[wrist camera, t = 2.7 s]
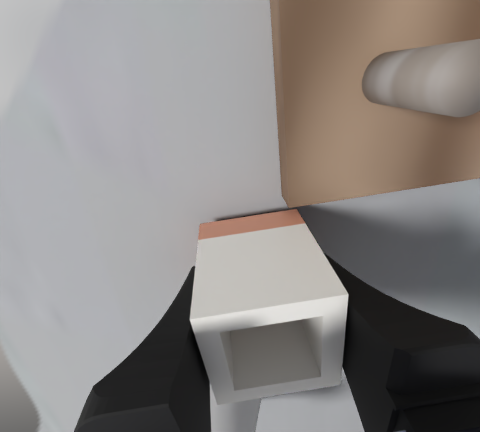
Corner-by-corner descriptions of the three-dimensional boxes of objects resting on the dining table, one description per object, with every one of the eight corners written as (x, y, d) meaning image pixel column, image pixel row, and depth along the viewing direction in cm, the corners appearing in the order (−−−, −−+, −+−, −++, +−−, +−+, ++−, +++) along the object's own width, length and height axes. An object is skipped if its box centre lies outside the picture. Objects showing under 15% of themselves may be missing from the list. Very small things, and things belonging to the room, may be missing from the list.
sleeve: (296, 208, 13) (348, 294, 8) (298, 282, 16) (340, 385, 11) (200, 224, 13) (189, 319, 8) (216, 295, 16) (217, 405, 11)
